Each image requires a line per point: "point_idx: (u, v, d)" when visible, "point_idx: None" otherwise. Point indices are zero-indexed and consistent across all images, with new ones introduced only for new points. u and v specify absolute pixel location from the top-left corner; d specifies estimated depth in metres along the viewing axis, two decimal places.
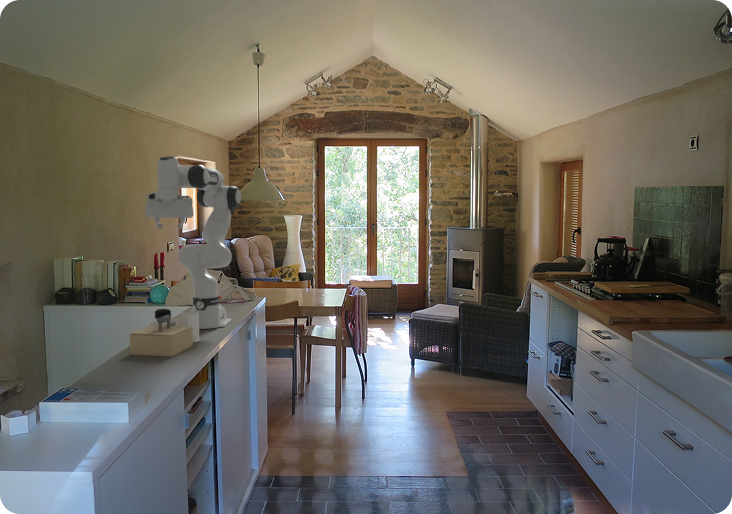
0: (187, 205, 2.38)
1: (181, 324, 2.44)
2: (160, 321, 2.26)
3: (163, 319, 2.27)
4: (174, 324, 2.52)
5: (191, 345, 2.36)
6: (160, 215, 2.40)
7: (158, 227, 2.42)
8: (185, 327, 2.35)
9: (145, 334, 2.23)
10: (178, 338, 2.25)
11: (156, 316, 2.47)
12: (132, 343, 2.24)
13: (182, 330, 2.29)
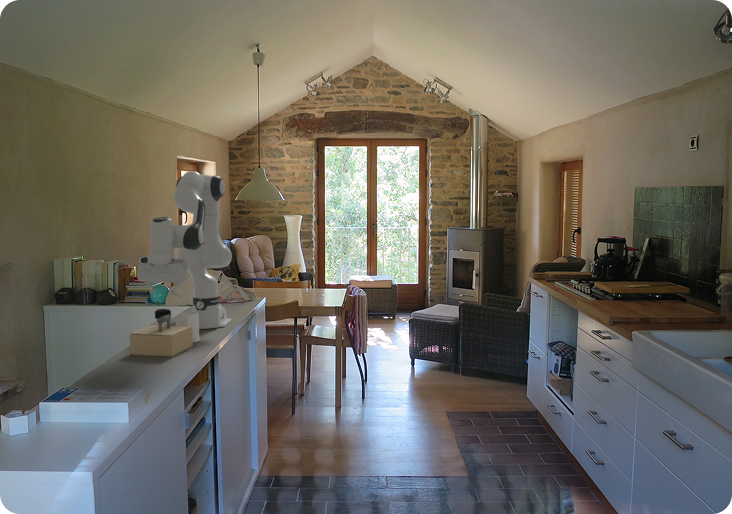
0: (181, 270, 2.24)
1: (181, 324, 2.44)
2: (160, 321, 2.26)
3: (163, 319, 2.27)
4: (174, 324, 2.52)
5: (191, 345, 2.36)
6: (153, 279, 2.27)
7: (151, 292, 2.29)
8: (185, 327, 2.35)
9: (145, 334, 2.23)
10: (178, 338, 2.25)
11: (156, 316, 2.47)
12: (132, 343, 2.24)
13: (182, 330, 2.29)
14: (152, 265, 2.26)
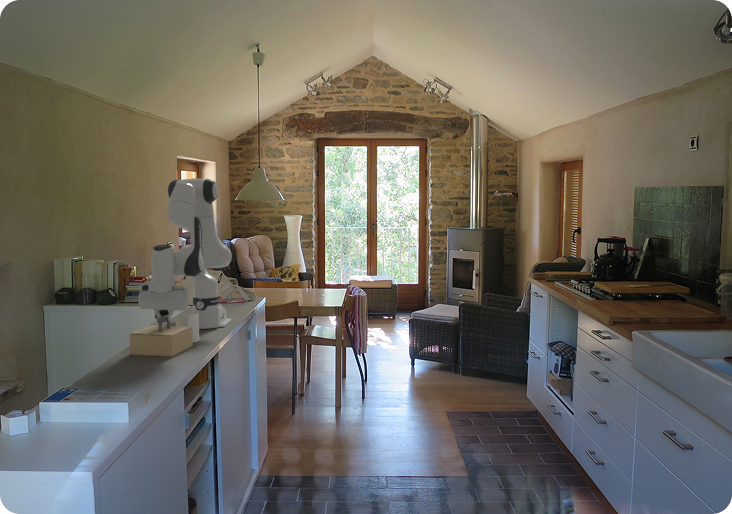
0: (182, 297, 2.25)
1: (181, 324, 2.44)
2: (160, 321, 2.26)
3: (163, 319, 2.27)
4: (174, 324, 2.52)
5: (191, 345, 2.36)
6: (154, 307, 2.28)
7: None
8: (185, 327, 2.35)
9: (145, 334, 2.23)
10: (178, 338, 2.25)
11: (156, 316, 2.47)
12: (132, 343, 2.24)
13: (182, 330, 2.29)
14: (153, 293, 2.27)
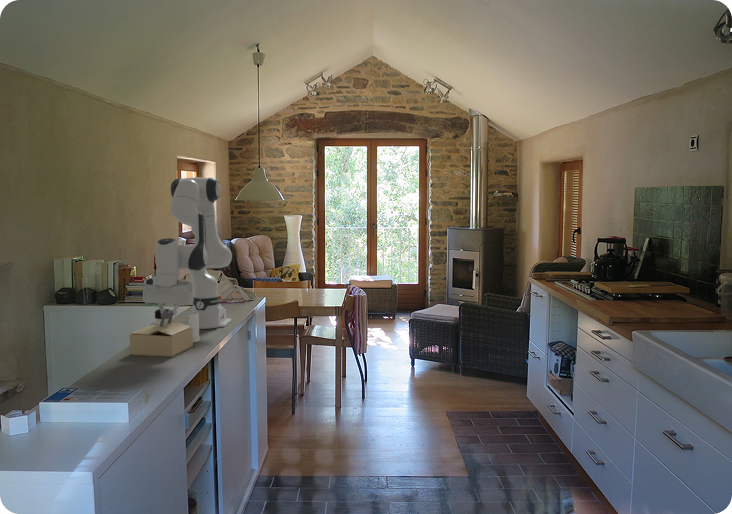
0: (187, 291, 2.25)
1: None
2: (163, 316, 2.26)
3: (167, 315, 2.26)
4: None
5: (191, 345, 2.36)
6: (158, 301, 2.27)
7: None
8: (185, 326, 2.35)
9: (145, 334, 2.23)
10: (178, 338, 2.25)
11: (156, 316, 2.47)
12: (132, 343, 2.24)
13: (182, 330, 2.29)
14: (157, 287, 2.26)
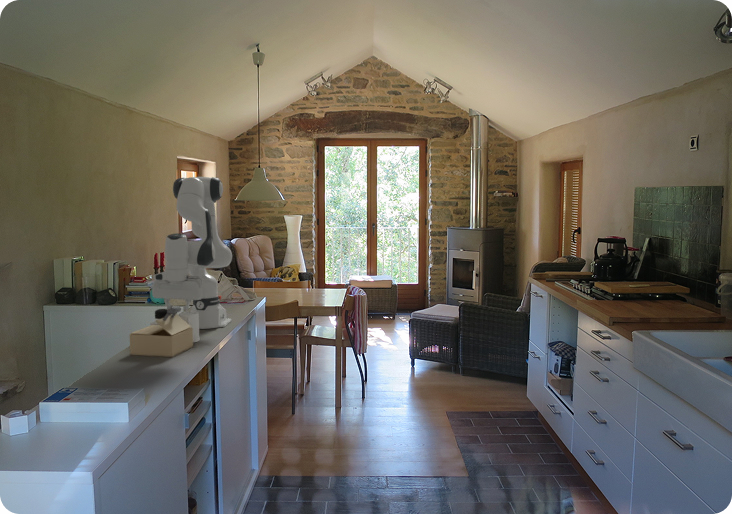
0: (196, 287, 2.23)
1: None
2: (169, 312, 2.25)
3: (173, 312, 2.26)
4: None
5: (191, 345, 2.36)
6: (168, 296, 2.26)
7: (168, 308, 2.28)
8: (186, 324, 2.35)
9: (145, 334, 2.23)
10: (178, 338, 2.25)
11: (156, 316, 2.47)
12: (132, 343, 2.24)
13: (182, 330, 2.29)
14: (167, 282, 2.25)
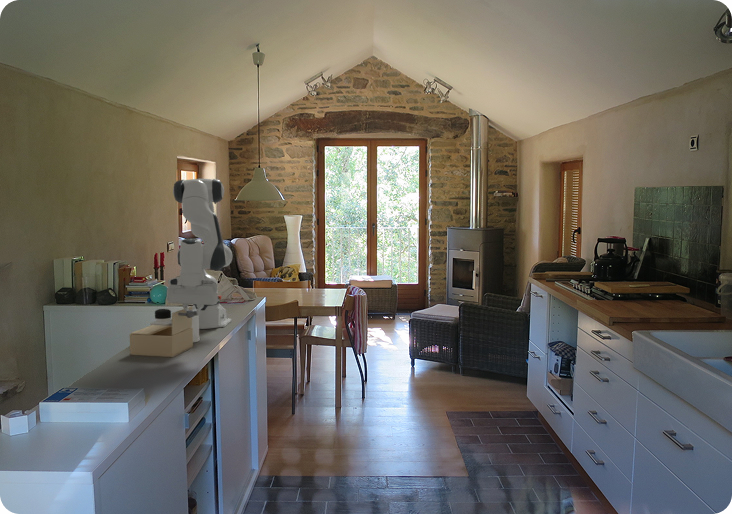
0: (211, 292, 2.22)
1: None
2: (188, 315, 2.24)
3: (190, 317, 2.25)
4: None
5: (191, 345, 2.36)
6: (182, 301, 2.25)
7: None
8: (190, 323, 2.34)
9: (145, 334, 2.23)
10: (178, 338, 2.25)
11: (156, 316, 2.47)
12: (132, 343, 2.24)
13: (183, 330, 2.29)
14: (182, 287, 2.24)
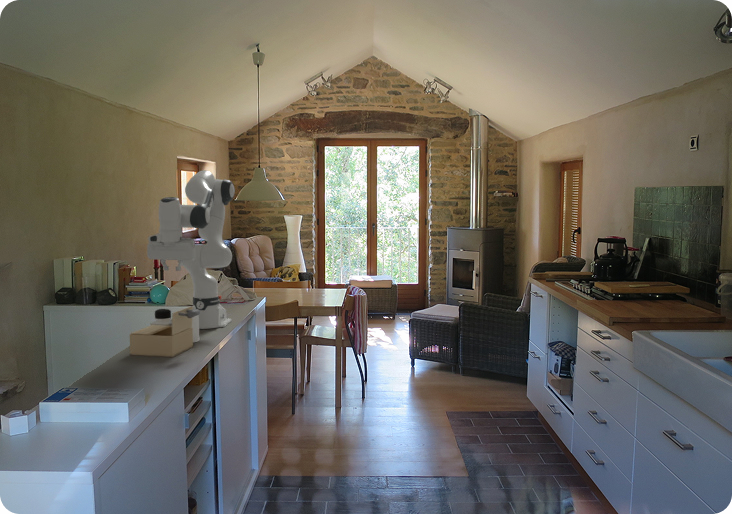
0: (190, 247, 2.34)
1: None
2: (188, 315, 2.24)
3: (191, 317, 2.25)
4: None
5: (191, 345, 2.36)
6: (162, 257, 2.37)
7: (165, 269, 2.38)
8: (190, 323, 2.34)
9: (145, 334, 2.23)
10: (178, 338, 2.25)
11: (156, 316, 2.47)
12: (132, 343, 2.24)
13: (183, 330, 2.29)
14: (161, 243, 2.36)
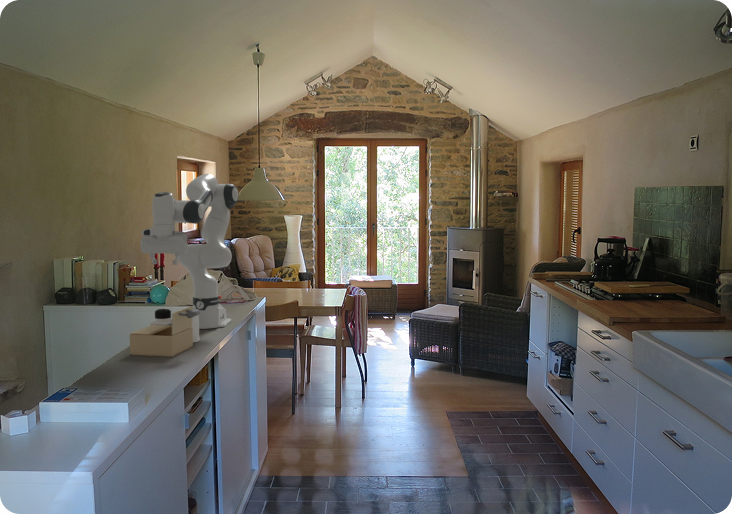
0: (182, 241, 2.38)
1: None
2: (188, 315, 2.24)
3: (191, 317, 2.25)
4: None
5: (191, 345, 2.36)
6: (155, 251, 2.41)
7: (153, 262, 2.43)
8: (190, 323, 2.34)
9: (145, 334, 2.23)
10: (178, 338, 2.25)
11: (156, 316, 2.47)
12: (132, 343, 2.24)
13: (183, 330, 2.29)
14: (154, 237, 2.40)
